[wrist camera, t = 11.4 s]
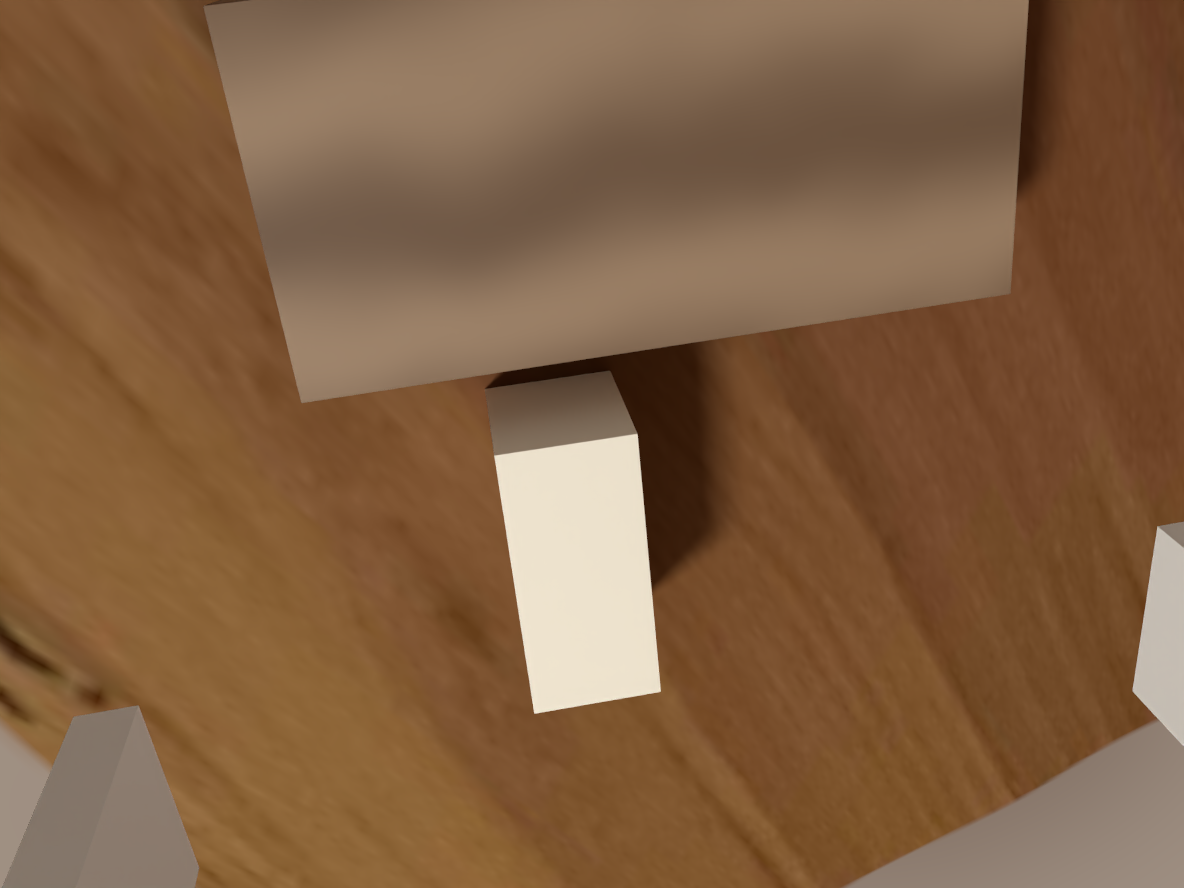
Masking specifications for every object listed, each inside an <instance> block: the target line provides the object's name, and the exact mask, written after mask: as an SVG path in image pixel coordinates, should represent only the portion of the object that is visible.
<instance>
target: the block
mask: <svg viewBox="0 0 1184 888" xmlns="http://www.w3.org/2000/svg"><path fill="white" fill-rule="evenodd" d="M485 393H486V400H487V407H488V414H489V421H490V428H491V435H492V442H493V449H494V456H495V463H496V469H497V475H498V482H499V488H500V495H501V501H502V508H503V514H504V521H505V527H506V533H507V540H508V546H509V553H510V559H511V566H512V572H513V579H514V585H515V592H516V598H517V604H518V611H519V617H520V624H521V630H522V637H523V643H524V650H525V656H526V662H527V669H528V675H529V682H530V688H531V695H532V701H533V708H534V714H535V713H541V712H546V711H552V710H558V709H564V708H570V707H575V706H581V705H587V704H593V703H598V702H604V701H610V700H616V699H621V698H627V697H633V696H639V695H645V694H650V693H656V692H661V690H660V679H659V668H658V656H657V645H656V634H655V623H654V612H653V601H652V590H651V578H650V567H649V556H648V545H647V534H646V523H645V511H644V500H643V489H642V478H641V467H640V456H639V445H638V434H637V431H636V429H635V427H634V425H633V422H632V420H631V418H630V415H629V413H628V411H627V408H626V406H625V404H624V401H623V399H622V397H621V395H620V392H619V390H618V388H617V385H616V383H615V381H614V378H613V376H612V374H611V371H604V372H597V373H590V374H583V375H576V376H570V377H563V378H556V379H549V380H542V381H535V382H529V383H522V384H515V385H508V386H501V387H494V388H488V389H485Z"/></svg>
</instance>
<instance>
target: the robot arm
mask: <svg viewBox="0 0 1184 888" xmlns="http://www.w3.org/2000/svg"><path fill="white" fill-rule="evenodd" d="M1133 692H1134V693H1135V694H1136V695H1137V697H1138V698H1139V699H1140V700H1141V701H1142V702H1143V703H1144V704H1145V705H1146V706H1147V707H1148V708H1149V710H1150V711H1151V712H1152V713H1153V714H1154V715H1155V716H1156V717H1157V718H1158V719H1159V720H1160V721H1161V722H1162V724H1163V725H1164V726H1165V727H1166V728H1167V729H1168V730H1169V731H1170V732H1171V733H1172V734H1173V735H1174V737H1175V738H1176V739H1177V740H1178V741H1179V742H1180V743H1181V744H1182V745H1183V746H1184V522H1180V523H1174V524H1168V525H1163V526H1158V527H1157V534H1156V540H1155V547H1154V554H1153V560H1152V567H1151V573H1150V580H1149V586H1148V593H1147V600H1146V606H1145V613H1144V619H1143V626H1142V633H1141V639H1140V646H1139V652H1138V659H1137V665H1136V672H1135V679H1134V685H1133ZM198 870H199V866H198V863H197V861H196V858H195V855H194V853H193V850H192V847H191V845H190V842H189V839H188V837H187V834H186V831H185V829H184V826H183V823H182V821H181V818H180V815H179V813H178V810H177V807H176V805H175V802H174V799H173V797H172V794H171V791H170V789H169V786H168V783H167V781H166V778H165V775H164V773H163V770H162V767H161V765H160V762H159V759H158V757H157V754H156V751H155V749H154V746H153V743H152V741H151V738H150V735H149V733H148V730H147V727H146V724H145V722H144V719H143V716H142V714H141V711H140V708H139V706H133V707H127V708H121V709H116V710H110V711H104V712H99V713H93V714H87V715H82V716H76V717H73V719H72V722H71V724H70V727H69V729H68V731H67V734H66V736H65V739H64V741H63V743H62V746H61V748H60V750H59V753H58V755H57V758H56V760H55V762H54V765H53V767H52V770H51V772H50V774H49V777H48V779H47V781H46V784H45V786H44V789H43V791H42V793H41V796H40V798H39V801H38V803H37V806H36V808H35V810H34V812H33V815H32V817H31V820H30V822H29V824H28V827H27V829H26V832H25V834H24V836H23V839H22V841H21V843H20V846H19V848H18V851H17V853H16V855H15V858H14V860H13V863H12V865H11V867H10V870H9V872H8V874H7V877H6V879H5V882H4V884H3V886H2V888H195V884H196V879H197V875H198Z"/></svg>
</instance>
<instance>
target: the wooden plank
mask: <svg viewBox="0 0 1184 888" xmlns="http://www.w3.org/2000/svg"><path fill="white" fill-rule="evenodd" d="M1028 5H1029V0H219V1H216V2H214V3H211V4H208V5H205V6H203V7H204V11H205V15H206V19H207V23H208V27H209V31H210V35H211V39H212V43H213V47H214V51H215V55H216V59H217V63H218V67H219V71H220V76H221V80H222V84H223V88H224V92H225V96H226V100H227V104H228V108H229V112H230V116H231V120H232V124H233V128H234V132H235V136H236V140H237V144H238V148H239V152H240V156H241V160H242V165H243V169H244V173H245V177H246V181H247V185H248V189H249V193H250V197H251V201H252V205H253V209H254V213H255V217H256V221H257V225H258V229H259V233H260V237H261V241H262V245H263V249H264V254H265V258H266V262H267V266H268V270H269V274H270V278H271V282H272V286H273V290H274V294H275V298H276V302H277V306H278V310H279V314H280V318H281V322H282V326H283V330H284V334H285V338H286V343H287V347H288V351H289V355H290V359H291V363H292V367H293V371H294V375H295V379H296V383H297V387H298V391H299V395H300V399H301V403H305V402H311V401H318V400H324V399H331V398H337V397H344V396H350V395H357V394H363V393H370V392H376V391H383V390H389V389H396V388H402V387H409V386H415V385H422V384H428V383H435V382H441V381H448V380H454V379H461V378H467V377H474V376H480V375H487V374H493V373H499V372H506V371H512V370H519V369H525V368H532V367H538V366H545V365H551V364H558V363H564V362H571V361H577V360H584V359H590V358H597V357H603V356H610V355H616V354H623V353H629V352H636V351H642V350H649V349H655V348H662V347H668V346H675V345H681V344H688V343H694V342H701V341H707V340H714V339H720V338H727V337H733V336H740V335H746V334H753V333H759V332H765V331H772V330H778V329H785V328H791V327H798V326H804V325H811V324H817V323H824V322H830V321H837V320H843V319H850V318H856V317H863V316H869V315H876V314H882V313H889V312H895V311H902V310H908V309H915V308H921V307H928V306H934V305H941V304H947V303H954V302H960V301H967V300H973V299H980V298H986V297H993V296H999V295H1006V294H1010V290H1011V274H1012V258H1013V243H1014V227H1015V211H1016V195H1017V179H1018V163H1019V147H1020V132H1021V116H1022V100H1023V84H1024V68H1025V52H1026V36H1027V21H1028Z"/></svg>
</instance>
